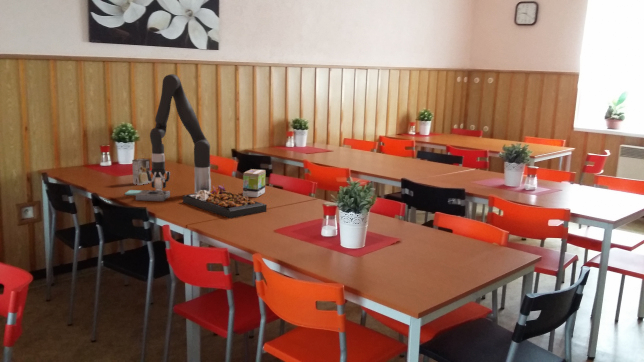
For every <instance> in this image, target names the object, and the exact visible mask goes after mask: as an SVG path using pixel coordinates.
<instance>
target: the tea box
mask: <svg viewBox="0 0 644 362" xmlns="http://www.w3.org/2000/svg"><path fill="white" fill-rule="evenodd" d="M266 174H267V173H266V169H256V168H255V169H254V168H253V169H252V168H250V169H249V170H246V171H245V172H243V176H242V177H243V178H242V182H243V183H242V196H247V197H248V198H249V197H250V198H251V197H252V198H258V197H259V196H262V195H263V194H265V193H266Z"/></svg>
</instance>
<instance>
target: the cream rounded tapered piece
mask: <svg viewBox="0 0 644 362" xmlns="http://www.w3.org/2000/svg"><path fill="white" fill-rule="evenodd" d="M154 182H155V188H154V189H155V190H156V191H163V180H162V179H161V177H155V180H154Z"/></svg>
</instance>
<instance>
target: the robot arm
mask: <svg viewBox="0 0 644 362" xmlns="http://www.w3.org/2000/svg"><path fill="white" fill-rule="evenodd" d="M161 85H162V87H161V93H160V94H161V95H160V99H159V103H158V108H157V112H156V115H155V117H154V121H155V127H154V128H152V129H151V130H150V133H149V140H150V143H151V169H150V171H147V177H148V181H150V184H151V187H152V189H156V188H155V177H161V179H162V189H166V187H167V182H169V181H170V177H171V171H170V170H169V171H167V170H166V164H165V163H166V157H165V145H164V144H163V138H164V137H165V136H166V133H167V125H168V119H169V116H170V113H171V107H172V105H171V104H172V101H174V105H175V109H176V112H177V115H178V117H179V119H180V121H181V123H182V125H183V126H184V129H186V131H187V132H188V134H189V135H190V137H191V140H192V142H193V146H194V147H193V162H194V163H193V165H194V194H195V193H196V192H198V191H200V190H205V191H211V190H212V178H211V156H210V155H211V152H210V151H211V144H210V142H209V141H208V139H207V138H206V136H205V134H204V132H203V130H202V128H201V125H200V122H199V120H198V117H197V115H196V113H195V111H194V110H195V109H194V108H193V106H192V103H191V102H190V101H189V99H188V97H187V94H186V92H185V90H184V88H183V84H182V82H181V79H180V77H178V75H177V74H174V73H171V74H167V75H165V76H164V78H163V79H162V84H161ZM151 175H152V177H151ZM165 176H166V177H165Z"/></svg>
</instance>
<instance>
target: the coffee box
mask: <svg viewBox="0 0 644 362" xmlns="http://www.w3.org/2000/svg"><path fill="white" fill-rule="evenodd" d="M131 161H132V184H133V185H136V184H137V185H136V186H141V185H143V184H144V185H149V184H151V181H148V177H147V171H151V164H150V163H151V162H150V159H148V158H138V159H137V158H136V159H131ZM148 183H149V184H148ZM144 185H143V186H144Z"/></svg>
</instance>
